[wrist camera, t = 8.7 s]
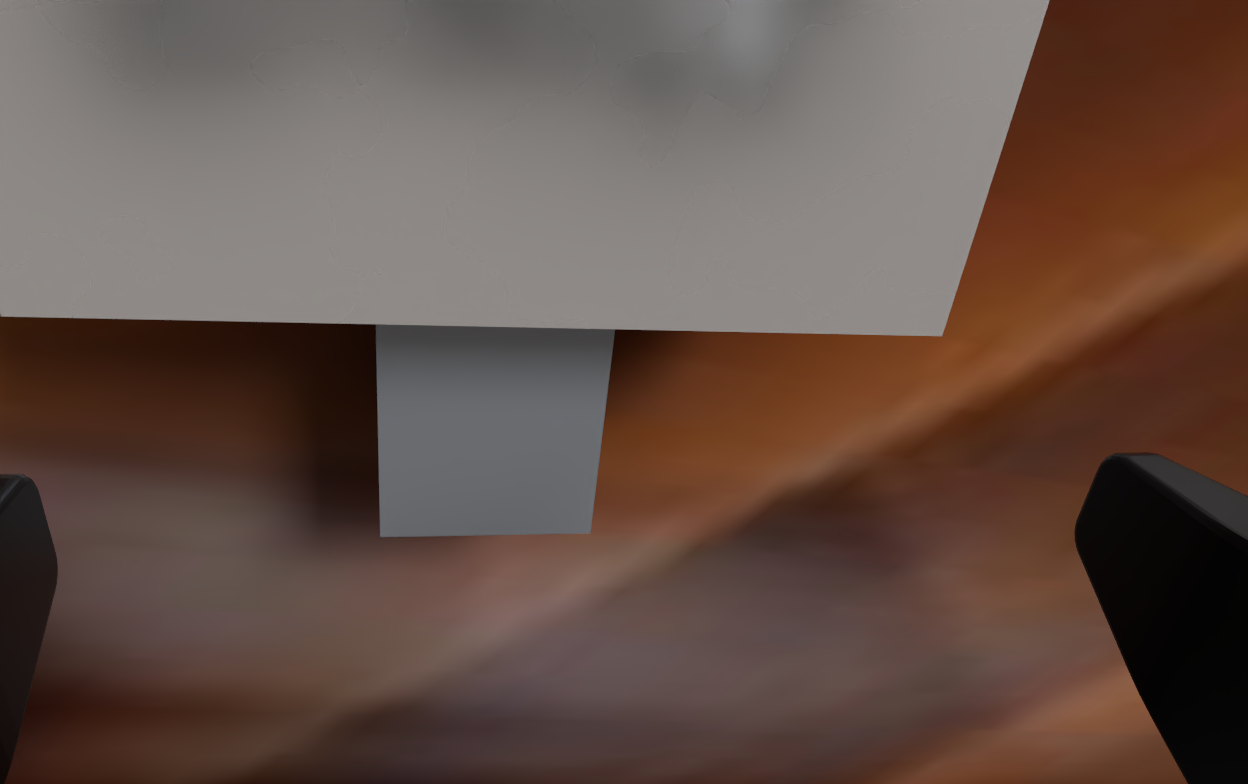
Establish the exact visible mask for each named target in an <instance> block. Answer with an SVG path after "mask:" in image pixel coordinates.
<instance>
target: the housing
mask: <svg viewBox="0 0 1248 784" xmlns="http://www.w3.org/2000/svg"><path fill="white" fill-rule="evenodd" d="M1048 3H1049V0H0V314H1V316H2V317H49V318H97V319H145V320H193V321H241V322H289V323H337V324H385V325H432V326H480V327H528V328H576V329H624V330H672V331H720V332H768V333H815V334H863V335H911V336H942V335H943V332H944V329H945V325H946V322H947V319H948V316H949V313H950V310H951V307H952V304H953V300H954V297H955V294H956V291H957V288H958V285H959V282H960V279H961V275H962V272H963V269H964V266H965V263H966V260H967V257H968V253H969V250H970V247H971V244H972V241H973V238H974V235H975V232H976V228H977V225H978V222H979V219H980V216H981V213H982V210H983V207H984V203H985V200H986V197H987V194H988V191H989V188H990V185H991V182H992V178H993V175H994V172H995V169H996V166H997V163H998V160H999V157H1000V153H1001V150H1002V147H1003V144H1004V141H1005V138H1006V135H1007V132H1008V128H1009V125H1010V122H1011V119H1012V116H1013V113H1014V110H1015V107H1016V103H1017V100H1018V97H1019V94H1020V91H1021V88H1022V85H1023V82H1024V78H1025V75H1026V72H1027V69H1028V66H1029V63H1030V60H1031V57H1032V53H1033V50H1034V47H1035V44H1036V41H1037V38H1038V35H1039V32H1040V28H1041V25H1042V22H1043V19H1044V16H1045V13H1046V10H1047V7H1048Z"/></svg>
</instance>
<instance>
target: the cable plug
mask: <svg viewBox="0 0 1248 784" xmlns="http://www.w3.org/2000/svg"><path fill="white" fill-rule="evenodd" d="M614 335H615V329H576V328H528V327H480V326H432V325H385V324H376V362H377V410H378V457H379V504H380V537H415V536H469V535H523V534H577V533H590V531H591V523H592V515H593V507H594V499H595V490H596V482H597V474H598V466H599V458H600V449H601V441H602V433H603V425H604V417H605V409H606V400H607V392H608V384H609V376H610V368H611V359H612V351H613V343H614Z"/></svg>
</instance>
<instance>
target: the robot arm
mask: <svg viewBox="0 0 1248 784" xmlns="http://www.w3.org/2000/svg"><path fill="white" fill-rule="evenodd" d="M1075 543H1076V548H1077V551H1078V553H1079V556H1080V558H1081V560H1082V563H1083V565H1084V568H1085V570H1086V572H1087V575H1088V577H1089V579H1090V582H1091V584H1092V586H1093V589H1094V591H1095V593H1096V596H1097V598H1098V600H1099V603H1100V605H1101V607H1102V610H1103V612H1104V614H1105V617H1106V619H1107V621H1108V624H1109V626H1110V628H1111V631H1112V633H1113V635H1114V638H1115V640H1116V642H1117V645H1118V647H1119V649H1120V652H1121V654H1122V656H1123V659H1124V661H1125V664H1126V666H1127V668H1128V670H1129V673H1130V675H1131V677H1132V679H1133V681H1134V684H1135V686H1136V688H1137V690H1138V692H1139V694H1140V696H1141V698H1142V700H1143V702H1144V704H1145V706H1146V708H1147V710H1148V712H1149V714H1150V716H1151V718H1152V719H1153V721H1154V723H1155V725H1156V727H1157V729H1158V730H1159V732H1160V734H1161V736H1162V738H1163V739H1164V741H1165V743H1166V745H1167V747H1168V749H1169V750H1170V752H1171V754H1172V756H1173V758H1174V759H1175V761H1176V763H1177V765H1178V767H1179V768H1180V770H1181V772H1182V774H1183V776H1184V778H1185V779H1186V781H1187V783H1188V784H1248V496H1246V495H1244V494H1242V493H1240V492H1238V491H1235V490H1233V489H1231V488H1229V487H1227V486H1225V485H1223V484H1221V483H1218V482H1216V481H1214V480H1212V479H1210V478H1208V477H1206V476H1204V475H1201V474H1199V473H1197V472H1195V471H1193V470H1191V469H1189V468H1187V467H1184V466H1182V465H1180V464H1178V463H1176V462H1174V461H1172V460H1170V459H1167V458H1165V457H1163V456H1161V455H1158V454H1155V453H1149V452H1144V453H1115V454H1112V455H1110V456H1108V457H1107V458H1106V459H1105V460H1104V461H1103V462H1102V463H1101V464H1100V466H1099V468H1098V470H1097V473H1096V475H1095V477H1094V480H1093V482H1092V485H1091V487H1090V489H1089V492H1088V494H1087V497H1086V499H1085V502H1084V504H1083V506H1082V509H1081V511H1080V514H1079V516H1078V518H1077V521H1076V525H1075ZM57 576H58V565H57V557H56V552H55V549H54V545H53V542H52V538H51V534H50V531H49V527H48V523H47V520H46V516H45V513H44V509H43V505H42V502H41V498H40V495H39V491H38V489H37V487H36V485H35V483H34V482H33V480H32V479H30V478H29V477H27V476H25V475H23V474H0V784H4V783H5V780H6V777H7V774H8V771H9V769H10V766H11V762H12V759H13V755H14V751H15V748H16V744H17V741H18V737H19V733H20V729H21V725H22V721H23V717H24V713H25V709H26V705H27V701H28V697H29V693H30V689H31V685H32V681H33V677H34V673H35V669H36V665H37V661H38V657H39V653H40V649H41V645H42V641H43V637H44V633H45V629H46V625H47V621H48V617H49V614H50V610H51V606H52V602H53V598H54V594H55V589H56V584H57Z"/></svg>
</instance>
